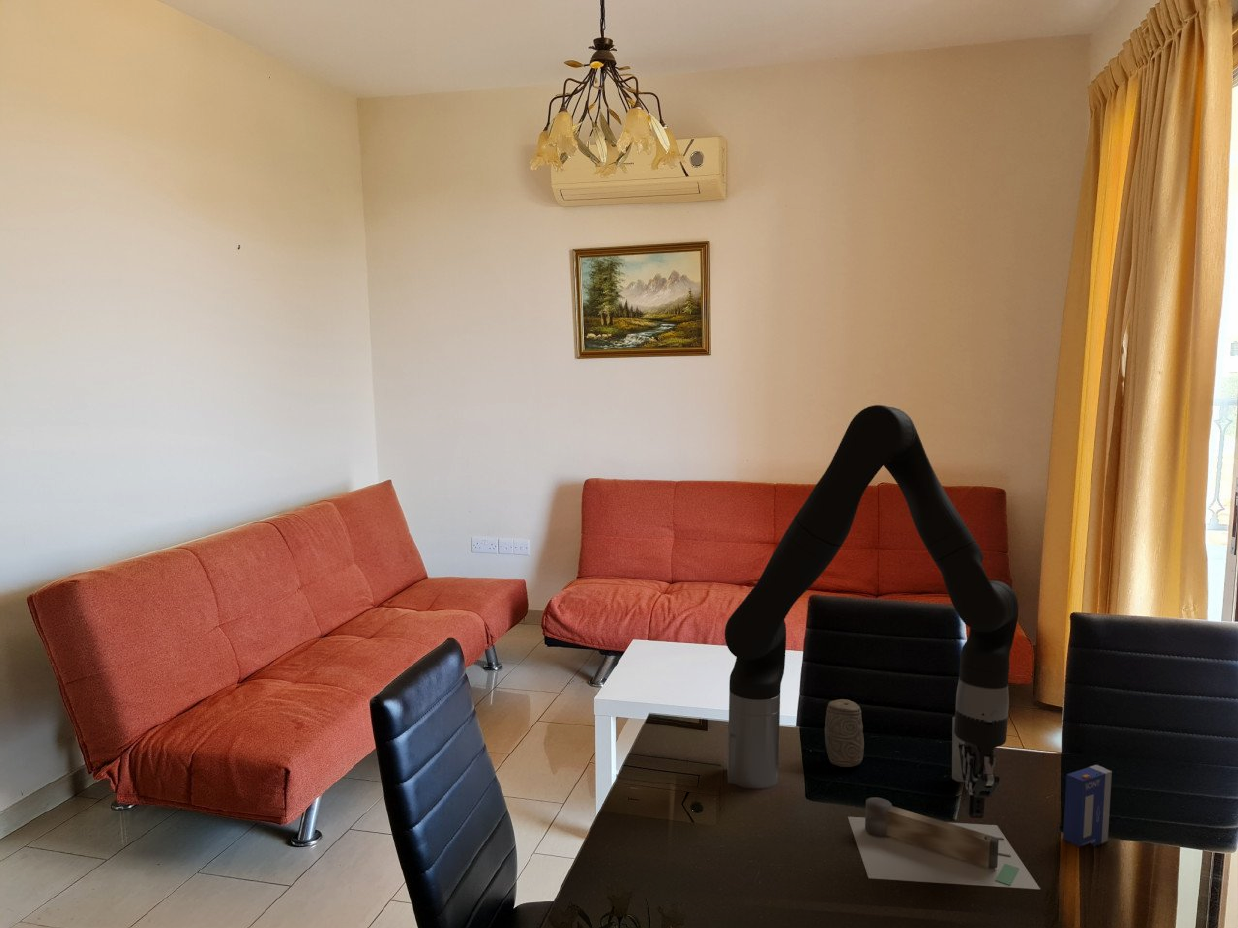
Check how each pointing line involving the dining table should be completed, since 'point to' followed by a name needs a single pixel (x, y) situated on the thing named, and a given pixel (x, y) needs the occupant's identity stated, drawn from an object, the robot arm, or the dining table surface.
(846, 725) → the carving
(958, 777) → the skincare box
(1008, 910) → the dining table surface
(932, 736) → the dining table surface
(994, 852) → the pointer lever
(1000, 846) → the dial plate
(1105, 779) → the walkman
